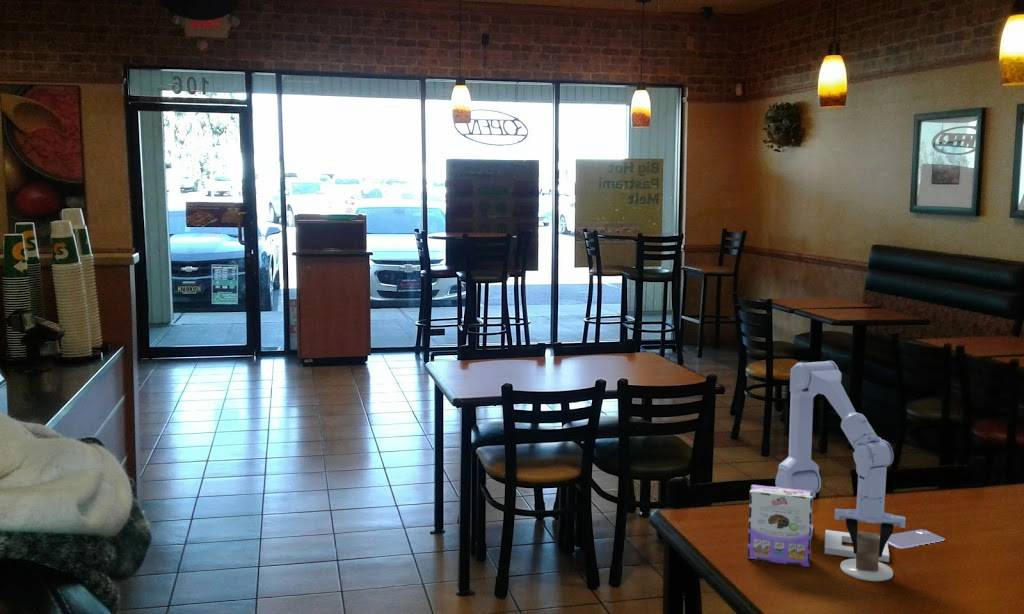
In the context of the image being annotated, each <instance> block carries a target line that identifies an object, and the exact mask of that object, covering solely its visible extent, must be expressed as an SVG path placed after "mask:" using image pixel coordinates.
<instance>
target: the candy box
mask: <svg viewBox="0 0 1024 614" xmlns="http://www.w3.org/2000/svg"><path fill="white" fill-rule="evenodd" d="M748 501H749V504H748V507H749V509H748V529H747V530H748V537H747V556H746V558H747V557H748V558H751V559H757V560H756V561H758V560H762V561H761V562H765V561H767V563H776V564H782V563H783V565H792V566H798V567H799V566H800V567H808V568H809V567H810V563H811V562H810V560H811V547H812V546H811V545H812V543H811V542H812V537H811V528H812V525H813V501H812V491H811V490H800V489H790V488H780V487H776V486H769V485H760V484H759V485H758V484H751V485H750V490H749V500H748Z"/></svg>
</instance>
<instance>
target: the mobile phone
mask: <svg viewBox="0 0 1024 614" xmlns="http://www.w3.org/2000/svg"><path fill="white" fill-rule="evenodd" d="M944 540H945V541H946V539H945V538H944V537H942V536H940V535H937V534H935V533H933V532H931V531H929V530H926V529H922V528H921V529H915V530H909V531H904V532H898V533H892V534H891V536H890V537H889V539H888V541H887V542H888V546H892V547H894V548H895V549H900V550H901V549H902V550H903V549H909V548H914V547H915V546H916V547H920V546H919V545H922V546H926V545H925V544H928V545H931V544H930V543H934V544H936V543H935V542H940V541H944ZM940 543H941V542H940ZM916 547H915V548H916Z"/></svg>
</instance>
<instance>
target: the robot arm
mask: <svg viewBox="0 0 1024 614" xmlns="http://www.w3.org/2000/svg"><path fill="white" fill-rule="evenodd" d="M789 377H790V378H789V379H790V380H789V392H790V403H789V404H790V406H789V428H788V429H789V430H788V431H789V434H788V437H789V438H788V456H787V458H785V459H784V460H783V461H782V462H780V463H779V465H778V468H777V469H778V470H777V474H776V476H775V481H774V482H775V487H780V488H790V489H800V490H811V491H812V502H813V500H814V498H816V494H817V493H818V492H819V491H820V489H821V486H822V480H821V475H820V466H819V465H818V464H817V462H815V461H813V460H812V447H813V446H812V444H813V417H814V415H813V413H814V398H815V396H817V395H818V394H820V395H824V396H825V398H826V399H827V401H828V403H829V404H830V405H831V406H832V407H833V409H834V410H835V412H836V413H837V415H838V416H839V417H840V419H841V422H840V428H841V430H842V432H843V433H844V434H845V436H846V438H847V440H848V442H849V443H850V445H851V447H852V448H853V449H854V451H853V452H852V455H853V460H854V463H855V471H856V474H857V492H856V508H848V509H847V508H845V509H844V508H843V509H842V508H834V520H835V521H836V520H837V521H840V520H844V521H845V526H846V529H847V532H848V533H849V534H850V536H851V540H852V543H851V544H852V547H853V551H854V554H857V531H858V527H859V525H858V522H861V523H862V522H863V523H867V524H876V525H877V524H879V528H880V529H879V536H880V545H879V557H882V553H883V550H884V547H885V545H886V543H887V541H888V539H889V537H890V536H891V534H894V527H899V528H903V529H905V528H906V516H903V515H898V514H897V515H896V514H892V513H887V512H885V503H886V502H885V498H886V486H887V485H886V484H887V483H886V482H887V467H889V466H891V465H892V464H893V461H894V458H895V457H894V456H895V455H894V451H893V450H894V449H892V446H891V444H890V442H888V441H886V440H885V439H882V437H880V436H878V435H877V433H876V432H875V430H874V428H873V427H872V425H871V424H870V423H869V421H868V418H867V417H866V416H865V415H864V414H863V413H860V412H857V411H856V409H855V408H854V406H853V404H852V402H851V399H850V397H849V396H848V395H847V393H846V391H845V388H844V386H843V385H842V377H843V376H842V372H841V370H839V367H838V365H837V364H836V363H835V361H833V360H826V361H825V360H824V361H812V362H811V361H810V362H796V363H795V364H794V365H793V366H792V367H791V368H790V375H789ZM813 530H814V525H813V524H812V528H811V538H812V537H813V532H814V531H813Z"/></svg>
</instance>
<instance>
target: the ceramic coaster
mask: <svg viewBox="0 0 1024 614" xmlns="http://www.w3.org/2000/svg"><path fill="white" fill-rule="evenodd" d="M839 568H840V571H842V573H844V574H845V575H848V576H849V577H850V578H851V577H852V578H853V579H858V580H861V581H866V582H867V581H868V582H885V581H889V580H891V579H892V578H893V576H894V571H893V569H892V567H890V566H888V565H887V564H885V563H883V562H881V561H878V571H874V570H867V569H859V568H856V558H848V559H844V560H842V561H841V562H840V567H839Z"/></svg>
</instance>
